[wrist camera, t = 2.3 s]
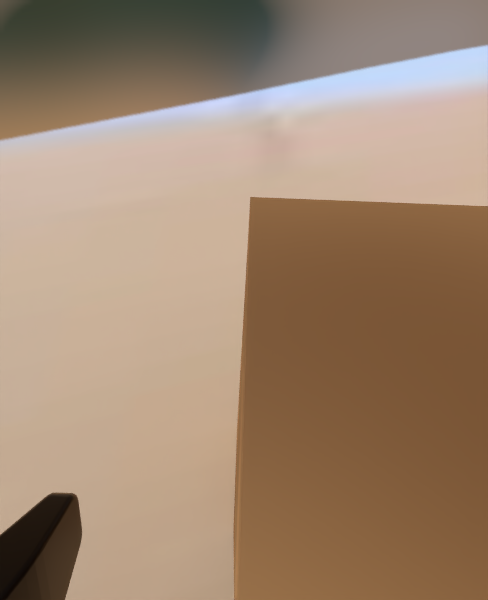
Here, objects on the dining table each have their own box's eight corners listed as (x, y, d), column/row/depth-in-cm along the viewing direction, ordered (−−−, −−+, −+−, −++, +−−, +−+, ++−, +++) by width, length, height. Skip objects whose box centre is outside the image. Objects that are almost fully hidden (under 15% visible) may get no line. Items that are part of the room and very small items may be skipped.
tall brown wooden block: (336, 534, 15) (843, 715, 3) (233, 531, 15) (237, 698, 3) (330, 428, 17) (637, 211, 4) (237, 425, 17) (250, 197, 4)
